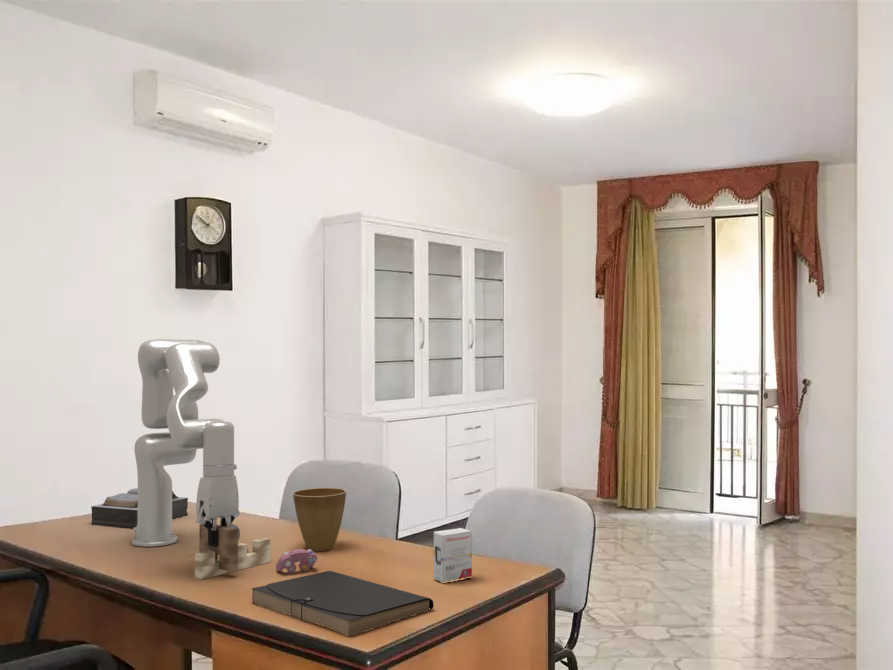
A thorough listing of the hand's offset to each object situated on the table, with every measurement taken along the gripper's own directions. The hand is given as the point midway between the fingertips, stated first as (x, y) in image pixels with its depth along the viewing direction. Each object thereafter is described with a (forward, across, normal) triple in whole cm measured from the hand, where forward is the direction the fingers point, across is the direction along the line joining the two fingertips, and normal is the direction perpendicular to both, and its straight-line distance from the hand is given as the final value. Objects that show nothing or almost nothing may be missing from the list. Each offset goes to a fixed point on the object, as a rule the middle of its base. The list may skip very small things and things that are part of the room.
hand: (218, 544), depth 212 cm
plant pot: (+8, -35, 0) cm, 35 cm away
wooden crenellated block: (+7, -5, 0) cm, 9 cm away
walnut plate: (+6, 0, 0) cm, 6 cm away
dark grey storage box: (+8, -28, -75) cm, 81 cm away
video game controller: (+8, -14, +14) cm, 21 cm away
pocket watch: (+7, -17, -15) cm, 24 cm away
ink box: (+8, -31, +50) cm, 59 cm away
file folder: (+8, +1, +43) cm, 44 cm away
